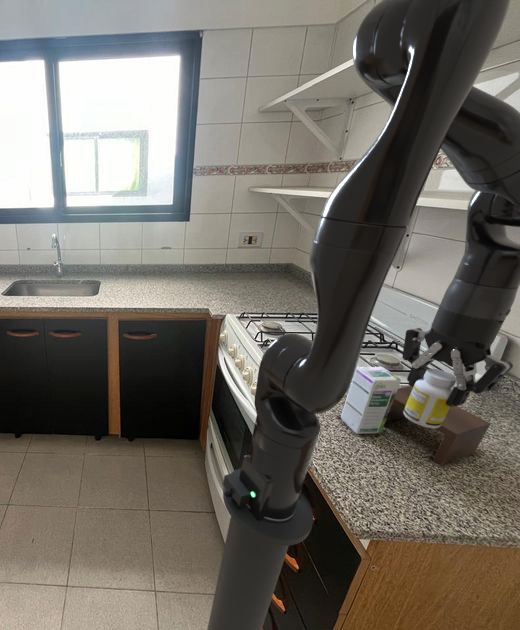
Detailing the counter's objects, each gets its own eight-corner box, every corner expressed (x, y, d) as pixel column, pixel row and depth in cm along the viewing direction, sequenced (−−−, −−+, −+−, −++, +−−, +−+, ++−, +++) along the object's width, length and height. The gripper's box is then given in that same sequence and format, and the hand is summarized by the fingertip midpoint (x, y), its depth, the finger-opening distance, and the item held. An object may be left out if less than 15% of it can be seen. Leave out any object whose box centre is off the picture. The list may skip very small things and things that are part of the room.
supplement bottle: (441, 419, 64) (463, 374, 60) (439, 433, 61) (462, 387, 57) (404, 405, 68) (423, 363, 64) (400, 418, 64) (419, 374, 60)
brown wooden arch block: (441, 465, 70) (457, 434, 66) (372, 420, 82) (383, 392, 79) (474, 453, 72) (491, 423, 69) (402, 411, 84) (414, 384, 81)
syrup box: (356, 434, 77) (376, 380, 72) (339, 417, 83) (356, 365, 77) (381, 434, 78) (403, 380, 72) (362, 416, 83) (381, 364, 77)
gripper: (407, 295, 61) (376, 377, 67) (518, 330, 48) (467, 425, 55) (437, 291, 63) (404, 370, 69) (551, 323, 50) (497, 416, 57)
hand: (432, 394), depth 62 cm, fingers closed on supplement bottle, 5 cm apart
